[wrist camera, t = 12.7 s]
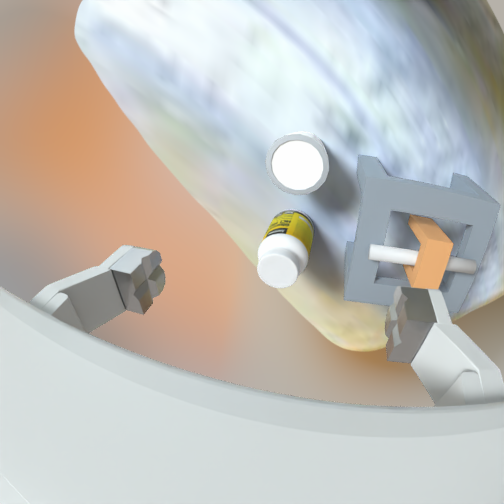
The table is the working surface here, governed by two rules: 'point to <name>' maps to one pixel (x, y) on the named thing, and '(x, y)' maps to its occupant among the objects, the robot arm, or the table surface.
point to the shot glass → (297, 163)
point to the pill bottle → (285, 248)
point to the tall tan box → (428, 254)
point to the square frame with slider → (373, 250)
